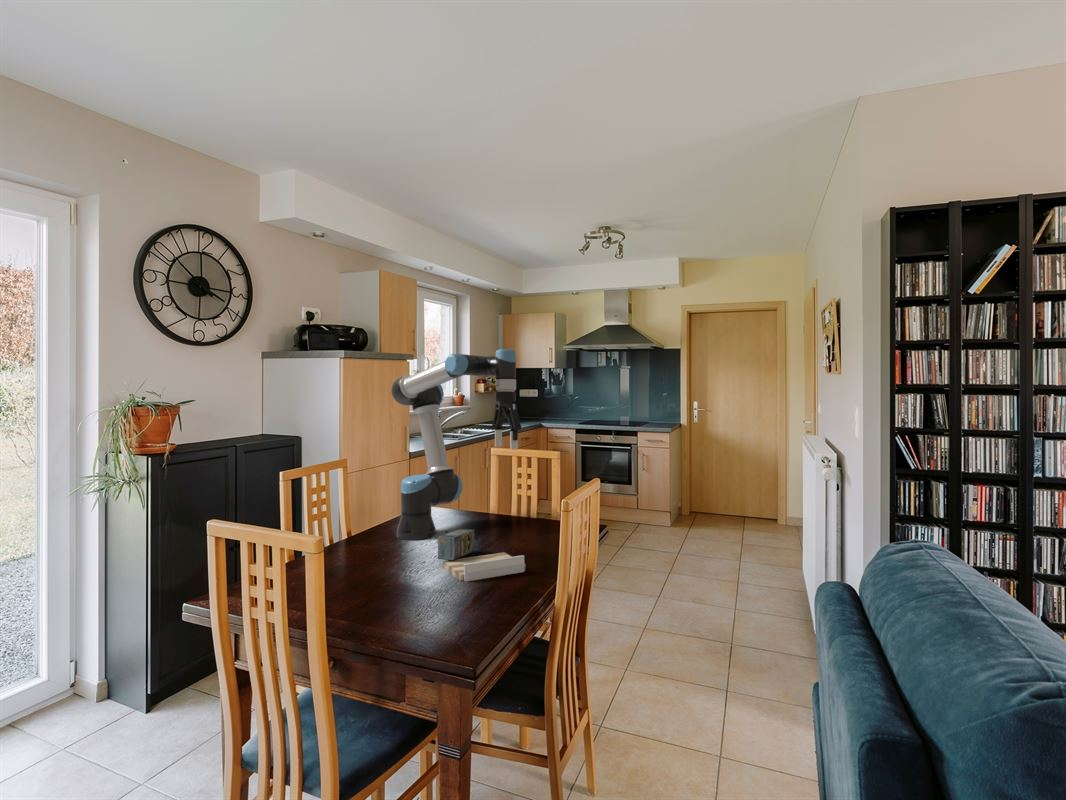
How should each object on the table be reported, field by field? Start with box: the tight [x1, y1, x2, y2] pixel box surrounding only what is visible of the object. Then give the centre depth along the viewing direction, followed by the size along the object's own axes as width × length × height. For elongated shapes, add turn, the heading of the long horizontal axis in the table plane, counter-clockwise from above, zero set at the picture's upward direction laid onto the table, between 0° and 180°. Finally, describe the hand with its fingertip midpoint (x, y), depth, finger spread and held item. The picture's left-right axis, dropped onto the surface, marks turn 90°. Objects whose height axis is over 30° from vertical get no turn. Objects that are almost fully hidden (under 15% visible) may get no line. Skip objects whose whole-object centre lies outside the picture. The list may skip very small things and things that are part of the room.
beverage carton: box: [437, 528, 476, 561], centre depth 188 cm, size 8×19×7 cm
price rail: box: [464, 555, 525, 583], centre depth 170 cm, size 1×20×5 cm, turn 119°
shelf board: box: [442, 552, 527, 582], centre depth 177 cm, size 16×22×2 cm
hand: (506, 448), depth 204 cm, fingers open, 13 cm apart
